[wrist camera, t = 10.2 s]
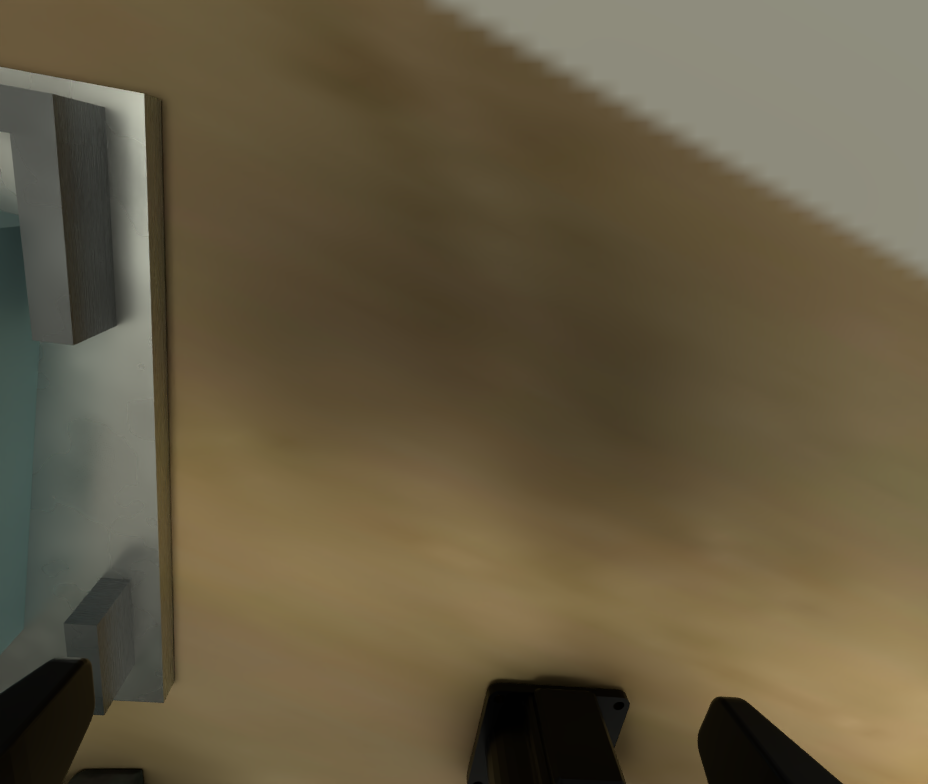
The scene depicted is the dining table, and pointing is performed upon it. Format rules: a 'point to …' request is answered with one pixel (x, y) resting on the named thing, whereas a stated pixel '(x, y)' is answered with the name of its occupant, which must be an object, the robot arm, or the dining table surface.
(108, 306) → the cup bracket
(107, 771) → the ceramic cat
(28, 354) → the rail
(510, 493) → the dining table surface
